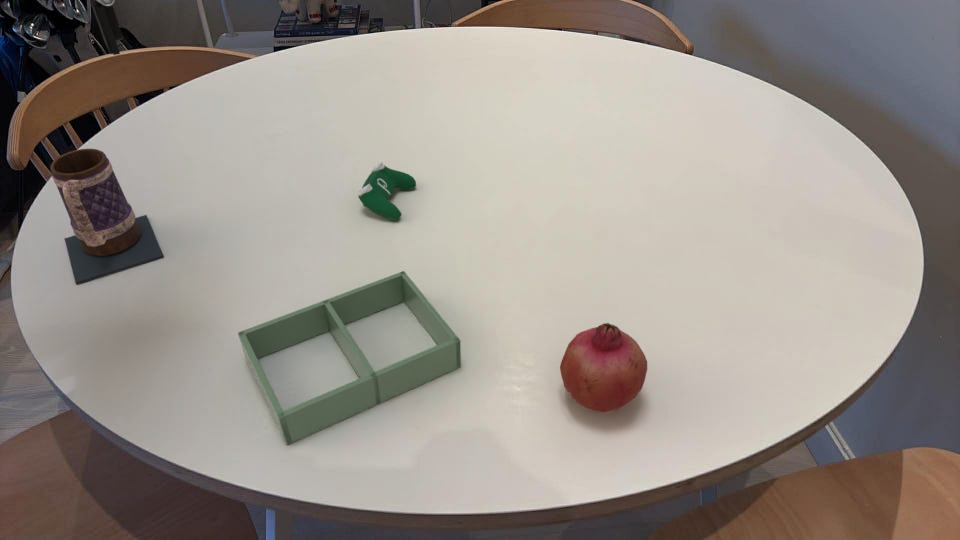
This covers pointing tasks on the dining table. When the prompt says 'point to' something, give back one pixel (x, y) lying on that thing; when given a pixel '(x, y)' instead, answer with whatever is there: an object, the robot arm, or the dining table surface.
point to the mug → (95, 202)
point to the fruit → (603, 368)
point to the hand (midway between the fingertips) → (51, 61)
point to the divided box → (351, 353)
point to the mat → (100, 266)
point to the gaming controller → (384, 190)
